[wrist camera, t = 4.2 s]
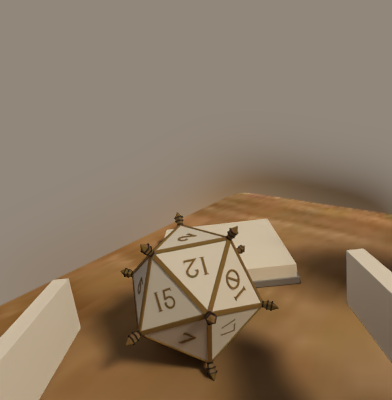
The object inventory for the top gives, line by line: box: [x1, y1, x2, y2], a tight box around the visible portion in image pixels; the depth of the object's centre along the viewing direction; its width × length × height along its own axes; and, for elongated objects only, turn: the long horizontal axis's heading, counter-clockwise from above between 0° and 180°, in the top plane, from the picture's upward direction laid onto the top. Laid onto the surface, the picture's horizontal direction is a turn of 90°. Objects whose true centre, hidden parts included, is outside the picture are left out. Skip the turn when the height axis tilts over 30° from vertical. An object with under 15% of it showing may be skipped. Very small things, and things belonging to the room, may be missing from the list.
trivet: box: [165, 219, 300, 288], centre depth 32 cm, size 12×12×2 cm
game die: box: [121, 213, 278, 380], centre depth 19 cm, size 9×8×10 cm
